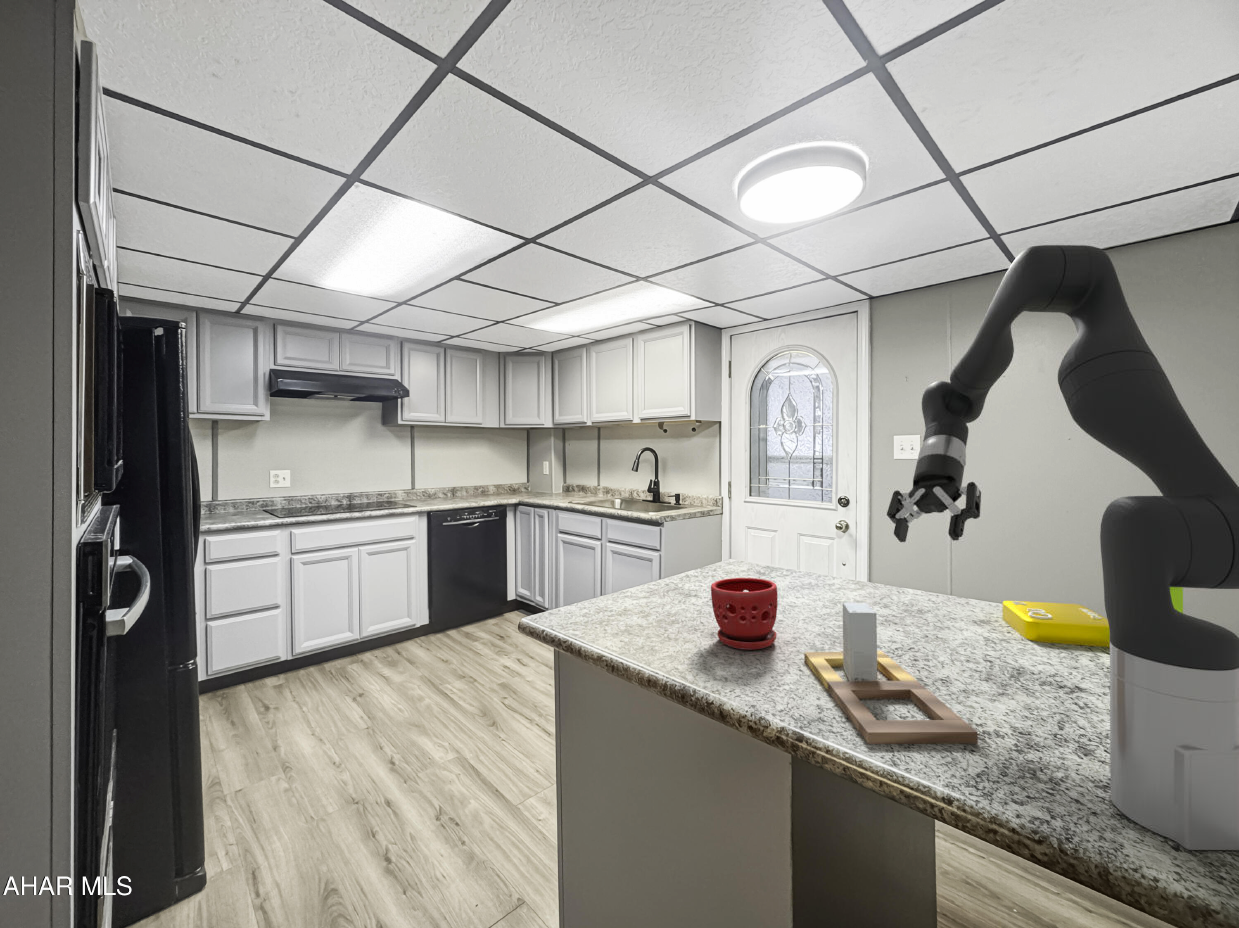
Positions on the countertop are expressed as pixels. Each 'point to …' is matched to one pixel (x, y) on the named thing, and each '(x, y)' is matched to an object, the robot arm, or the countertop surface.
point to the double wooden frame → (901, 686)
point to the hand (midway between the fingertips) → (925, 538)
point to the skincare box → (859, 642)
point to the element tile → (1057, 623)
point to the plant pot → (745, 612)
